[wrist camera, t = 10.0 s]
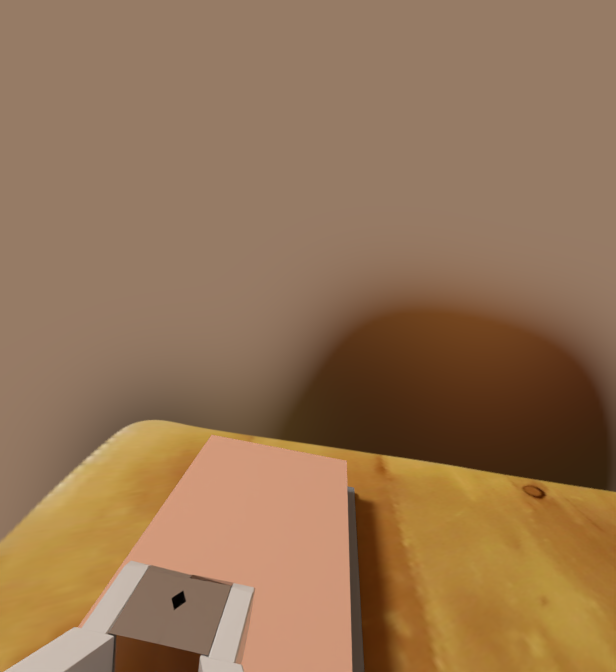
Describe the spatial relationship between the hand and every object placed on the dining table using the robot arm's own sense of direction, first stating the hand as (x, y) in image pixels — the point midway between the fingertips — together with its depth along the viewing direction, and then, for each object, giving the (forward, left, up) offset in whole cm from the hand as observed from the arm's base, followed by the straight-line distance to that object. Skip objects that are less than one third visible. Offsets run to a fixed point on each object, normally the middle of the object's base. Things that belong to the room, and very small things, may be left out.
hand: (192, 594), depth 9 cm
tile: (-1, -1, -7) cm, 8 cm away
